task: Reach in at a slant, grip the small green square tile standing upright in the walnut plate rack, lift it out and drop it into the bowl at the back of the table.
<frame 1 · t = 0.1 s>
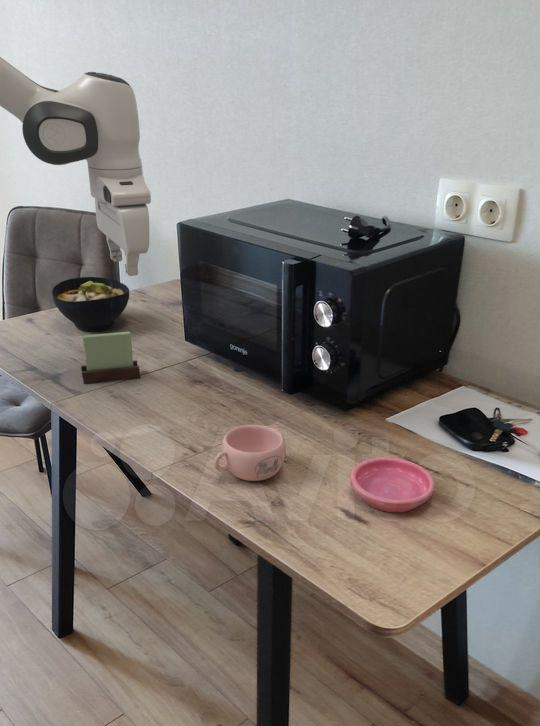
hand: (124, 267, 125), 23 cm above the table, tool pointing down, fingers open, 8 cm apart
saucer: (390, 496, 107), on the table
plate rack: (111, 377, 140), on the table
bowl: (95, 326, 164), on the table
mug: (248, 473, 111), on the table
green square tile: (111, 377, 140), resting in plate rack
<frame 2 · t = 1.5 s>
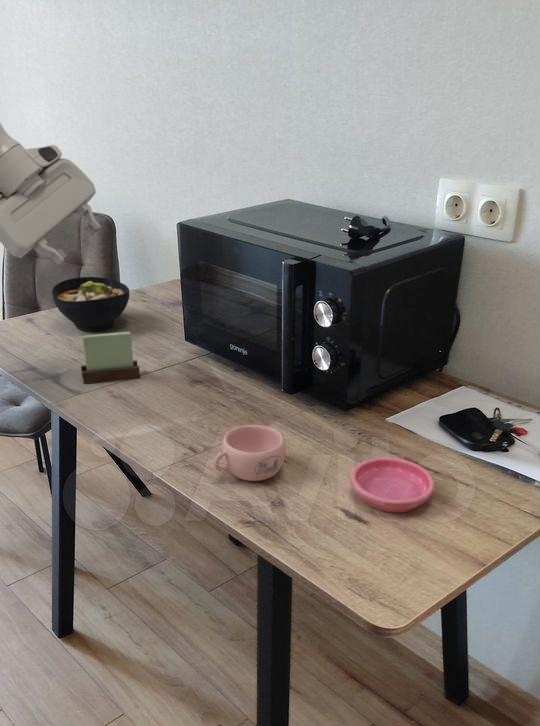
hand: (80, 246, 118), 28 cm above the table, tool tilted 45°, fingers open, 8 cm apart
nothing on the table moved.
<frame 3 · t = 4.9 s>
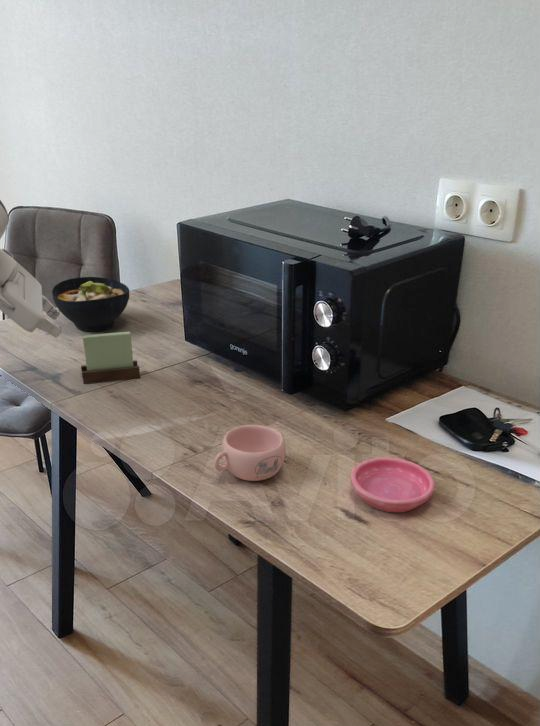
hand: (58, 324, 130), 12 cm above the table, tool tilted 45°, fingers open, 8 cm apart
nothing on the table moved.
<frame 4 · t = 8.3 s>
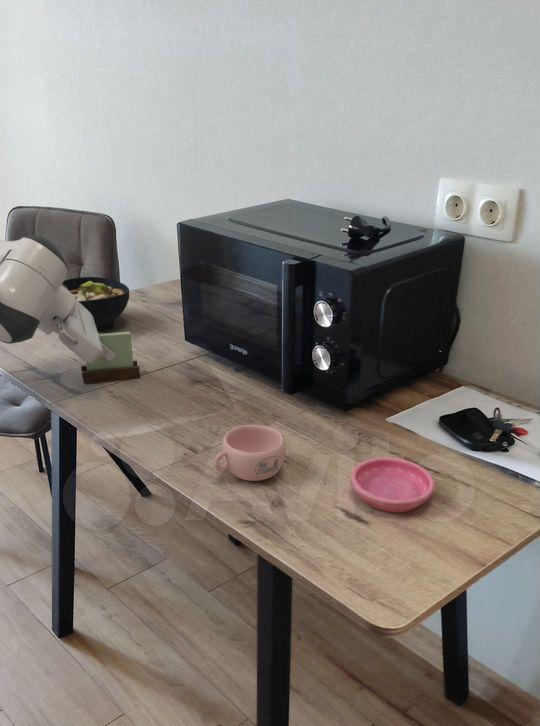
hand: (111, 354, 137), 5 cm above the table, tool tilted 45°, fingers closed on green square tile, 1 cm apart
green square tile: (111, 377, 140), resting in plate rack, touching gripper
everything else where it was.
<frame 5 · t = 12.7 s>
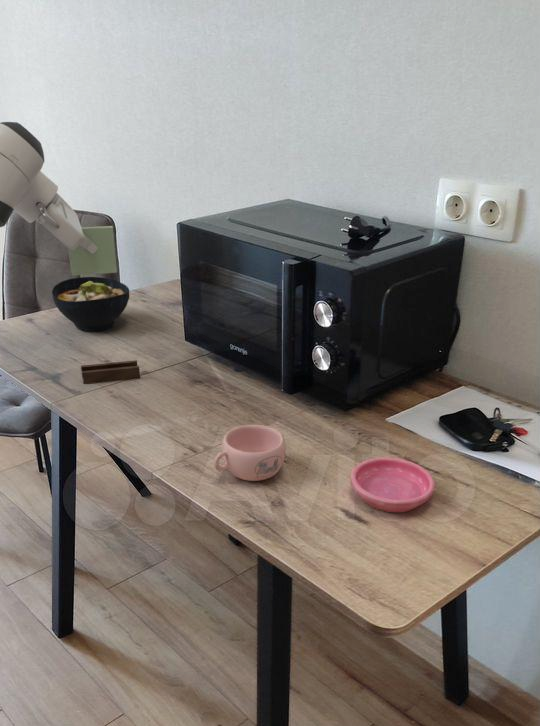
hand: (94, 248, 140), 21 cm above the table, tool tilted 45°, fingers closed on green square tile
green square tile: (94, 273, 143), point 16 cm above the table, touching gripper
everything else where it was.
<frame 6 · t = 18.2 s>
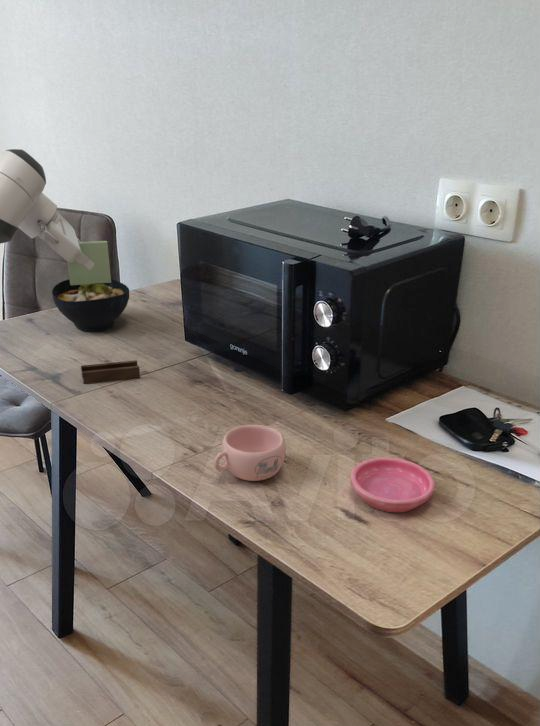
hand: (90, 260, 156), 15 cm above the table, tool tilted 45°, fingers open, 8 cm apart
bowl: (95, 326, 164), on the table, touching green square tile
green square tile: (90, 283, 158), point 10 cm above the table, touching bowl
everything else where it was.
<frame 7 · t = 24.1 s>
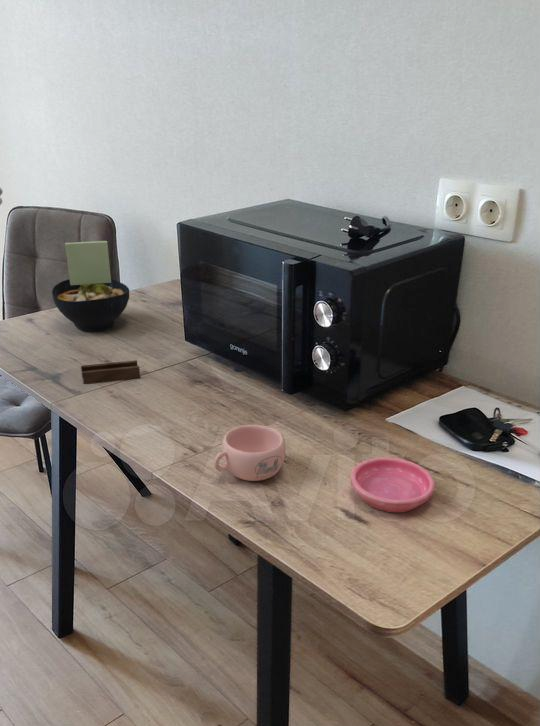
hand: (0, 199, 140), 29 cm above the table, tool tilted 45°, fingers open, 8 cm apart
nothing on the table moved.
at the end: green square tile inside the target area in the bowl (0.2 cm from its centre), point 10.2 cm above the bowl's base; the gripper is holding nothing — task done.
